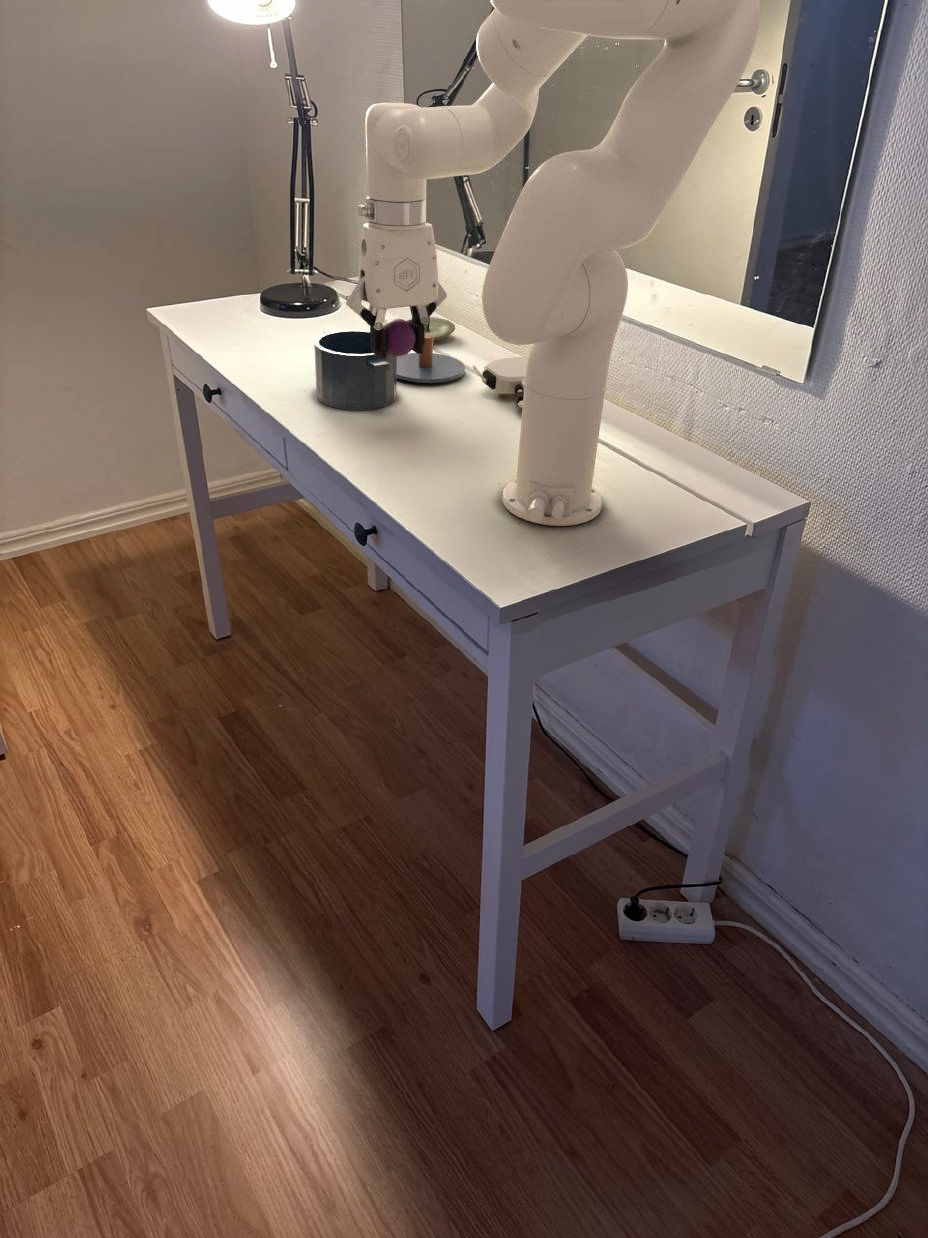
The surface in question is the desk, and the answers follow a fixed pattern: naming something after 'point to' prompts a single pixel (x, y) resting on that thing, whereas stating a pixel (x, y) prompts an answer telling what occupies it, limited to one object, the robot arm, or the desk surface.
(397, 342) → the purple ball
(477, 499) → the desk surface
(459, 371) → the pot lid
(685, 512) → the desk surface
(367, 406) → the pot
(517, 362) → the robot toy
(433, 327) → the lid
